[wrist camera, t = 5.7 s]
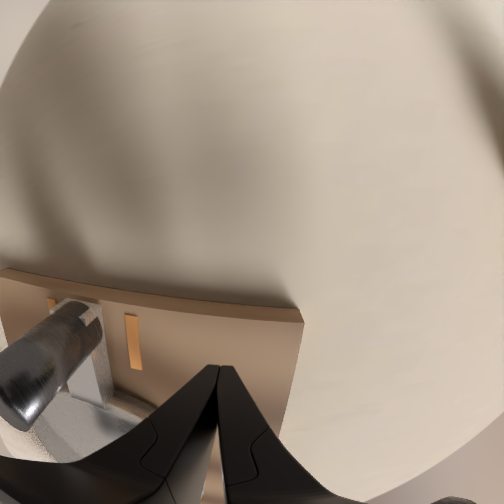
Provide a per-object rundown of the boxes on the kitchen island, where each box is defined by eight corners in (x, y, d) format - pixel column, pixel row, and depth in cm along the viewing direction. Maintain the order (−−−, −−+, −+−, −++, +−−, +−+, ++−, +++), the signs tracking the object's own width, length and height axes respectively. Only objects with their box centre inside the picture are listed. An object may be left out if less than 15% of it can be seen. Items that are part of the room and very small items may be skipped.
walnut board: (252, 506, 18) (252, 519, 16) (78, 469, 17) (73, 479, 16) (299, 309, 13) (304, 324, 12) (7, 268, 13) (-9, 274, 11)
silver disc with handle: (207, 499, 15) (200, 565, 8) (72, 462, 15) (45, 514, 8) (212, 316, 11) (177, 446, 5) (6, 276, 11) (-77, 320, 4)
